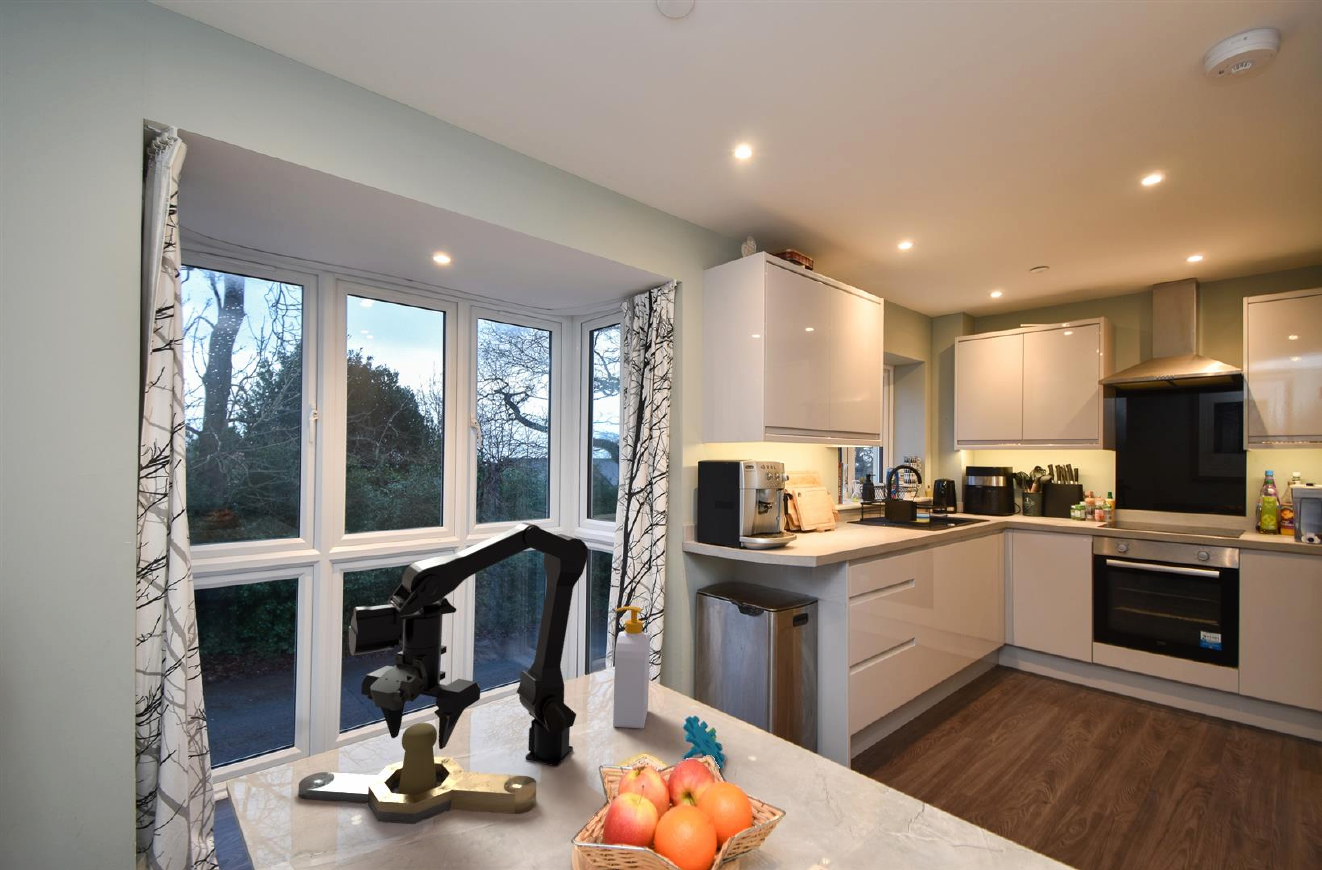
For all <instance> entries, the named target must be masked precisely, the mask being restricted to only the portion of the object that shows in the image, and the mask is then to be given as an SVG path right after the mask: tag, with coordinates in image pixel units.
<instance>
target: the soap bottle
mask: <svg viewBox="0 0 1322 870" xmlns="http://www.w3.org/2000/svg"><path fill="white" fill-rule="evenodd" d="M620 611H630V619H627V620H626V621H625V622H624V624H625V627H624V631H620V632H618V635H617V638H616V645H615V653H614V677H613V678H614V679H613V680H614V681H613V683H614V685H613V709H612V710H613V711H612V712H613V713H612V718H613V719H612V726H613V727H616V728H631V729H644V728H645V723H646V719H647V715H648V711H649V690H650V689H649V687H650V686H649V685H650V684H649V683H650V652H651V650H650V649H651V639H650V638H651V637H650V633H649V632H643V621H642V620H639V619H638V614H641V613H642V608H640V607H637V606H631V605H630V606H622V607H619V608H617V609H615V612H616V613H618V612H620Z"/></svg>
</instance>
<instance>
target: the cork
mask: <svg viewBox="0 0 1322 870" xmlns="http://www.w3.org/2000/svg"><path fill="white" fill-rule="evenodd" d="M437 739H438V732H437V728H436V727H435V725H433V724H431V723H428V722H419V723H415V724H412V725H410V726H409V727H407V728H406V729H405V730H404V732H403V733H402V737H401V747H402V748H403V750H404V756H403V760H402V761H403V767H402V773H401V778H400V784H399V787H398V792H397V794H406V795H417V794H420V793H423V792H426V791H429V790H431V789H434V788H437V787H438V783H437V781H436V771H435V762H434V756H435V753H434V746H435V744H436V742H437Z"/></svg>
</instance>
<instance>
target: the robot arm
mask: <svg viewBox="0 0 1322 870" xmlns="http://www.w3.org/2000/svg"><path fill="white" fill-rule="evenodd" d="M528 549H533V550H535V551H537V552H539V553H542V554H543V567H544V571H545V576H546V580H547V586H546V592H545V598H544V601H543V602H544V603H543V609H542V615H541V621H540V626H539V627H540V628H539V633H538V639H537V644H536V645H537V646H536V650H535V656H534V661H533V664H532V665H531V666H530V668H529V669H528V670H524V669H522V670H521V671H520V675H519V676H520V678H519V685H518V688H517V690H516V693H517V695H519V696H518V697H519V698H518V699H519V702H520V704H521V705H522V707H523V708H524V709H525V710H527V711H528V714H529V715H530V716H531V717H533V719H532V720H531V721H530V722H531V723H530V724H531V726H530V727H529V729H528V747H527V748H528V753H527V754H526V755H525V760H526V761H531V762H535V763H540V764H545V765H549V766H552V767H557V766H559V765H560V764H561V763H562V762H563V761H564V760H565V759H566V758H567V757H568V756H569V755H570V754H571V753H572V752H573V750H574V747H573V746H571V745H570V728H571V727H573V726H574V723H575V720H576V718H577V713H576V712H575V711H574V710H572V709H571V708H570V707H569V706H568V705H567V704H566V703H565V681H564V677H563V672H562V667H561V666H562V659H563V655H564V653H563V652H564V647H565V641H566V635H567V634H566V633H567V630H568V629H567V628H568V623H569V622H568V621H569V616H570V610H571V604H572V599H573V592H574V589H575V588H574V587H575V585H576V584H577V583H578V582H579V579H580V578H581V577H582V576H583V573H584V570H585V567H586V564H587V562H588V558H589V548H588V546H587V544H586V543H585V541H584V540H583V539H579V538H577V537H572V536H570V535H566V534H562V533H561V534H559V533H557V534H555V533H552V532H549V531H547V530H544V529H542V528H541V527H540V526H538V525H536V524H532V523H529V522H520V523H519V524H518V525H516V526H514V527H513V528H510V529H508V530H506V531H504V532H502V533H499V534H497V535H495V536H492V537H490V538H488V539H485V540H483V541H481V542H479V543H476V544H474V545H472V546H470V547H468V548H465V549H464V550H460V551H459V552H457V553H453V554H448V555H447V554H446V555H442V556H434V557H430V558H426V559H423V560H422V559H421V560H418V561H416V562H414V563H411V564H410V565H408V567H406V569H405V571H404V573H403V575H402V579H401V583H400V584H399V586H398V587H397V588H396V589H395V590H394V592H393V593H392V594H391V596H390V597H389V599H387V603H386V604H383V605H375V606H356V607H354V608H353V615H352V616H351V619H350V620H351V622H350V625H349V626H348V646H349V652H350V655H351V656H357V655H364V654H369V653H375V652H381V651H382V652H383V651H388V650H389V651H390V650H393V649H394V648H395V646H398V645H399V644H400V641H402V650H401V651H399V652H396V656H395V658H394V664H393V666H390V665H386V666H383V667H380V668H379V669H377V670H374V671H372V672H370V673H367V674H366V675H365V676H364V678H363V680H361V691H360V694H361V695H363V696H367V697H366V698H367V699H368V701H372V702H373V704H374V707H376V708H380V709H381V712H382V714H383V717H384V719H385V723H386V725H387V728H388V731H389V734H390V737H391V739H395V738H398V737H399V734H400V730H401V728H402V727H401V726H402V721H403V715H404V710H405V705H406V702H413V703H414V701H416V699H418V697H419V696H420V695H422V696H426V697H427V696H428V697H433V698H435V705H436V707H437V708H438V709H435V710H434V711H433V713H434V714H435V716H437V717H438V719H439V720H438V748H439V749H440V750H443V749H445V748H446V746H447V745H448V742H449V740H450V738H451V736H452V733H453V731H454V729H455V727H456V726H457V723H458V721H459V719H460V717H461V715H462V714H463V712H464V711H465V709H467V708H469V707H470V706H471V705H473V704H475V703H476V702H478V701H479V700H481V687H480V686H481V685H480V684H479V683H478V682H477V681H475V680H468V679H463V678H457V679H455V680H453V681H452V682H450V683H449V684H441V681H442V680H444V679H446V673H447V672H446V671H444V670H441V663H442V655H444V654H446V653H447V645H442V640H443V639H442V636H443V615H446V614H447V615H448V614H454V613H456V612H457V608H456V607H455V606H453V605H452V604H451V603H450V601H449V600H448V598H447V597H446V596H447V595H450V594H451V593H452V592H453V591H455V590H456V589H457V588H458V587H459V586H460V585H462V583H463V582H465V580H467V579H468V578H470V577H471V576H474V575H476V574H478V573H480V572H482V571H484V570H486V569H489V568H490V567H493V566H494V565H497V564H498V563H499V564H500V563H501V562H503V561H506V560H508V559H509V558H512V557H514V556H516V555H518V554H520V553H521V552H524V551H526V550H528Z"/></svg>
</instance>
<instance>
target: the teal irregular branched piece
mask: <svg viewBox="0 0 1322 870" xmlns="http://www.w3.org/2000/svg"><path fill="white" fill-rule="evenodd" d="M684 721H685V722H686V723H684V724H683V725H682V729H683V730H684V731H685V732H687V733H686V734H685V735H684V737H685V741H686V742H687V743H691V744H692V745H693V746H691V748H690V750H689V751H687V752H686V753H685V754H684V755H683V756H682V758H683V760H684V759H686V758H690V757H691V758H692V757H693V756H697V755H698V754H701V756H702V757H703V756H706V755H712V756H713V757H714V758H715V761H716V762H717V764H718V765H719V767H720V768H722V769H723V768H724V767H725V765H724V763H723V762H724V761H725V760H726V756H725V755H724V754H723V753H722V751H723V745H722V743H720V742H718V741H717V739H716V738H717V735H716V733H717V730H716V728H715V727H711V728H710V729H709V730H707V728H709V724H707V722H706V721H705V720H703V721H701V719H700V718H699V717H698V716H697V715H694V716H693V717H692V716H688V717H686V718H685V719H684ZM700 721H701V722H700ZM699 723H700V724H699ZM691 758H690V759H691Z"/></svg>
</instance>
